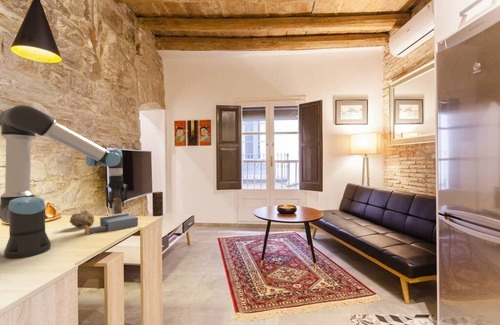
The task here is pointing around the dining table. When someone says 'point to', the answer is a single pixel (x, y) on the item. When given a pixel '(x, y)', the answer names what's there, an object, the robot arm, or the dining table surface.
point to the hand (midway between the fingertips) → (117, 212)
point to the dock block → (119, 221)
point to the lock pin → (95, 229)
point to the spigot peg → (117, 206)
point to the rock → (82, 219)
